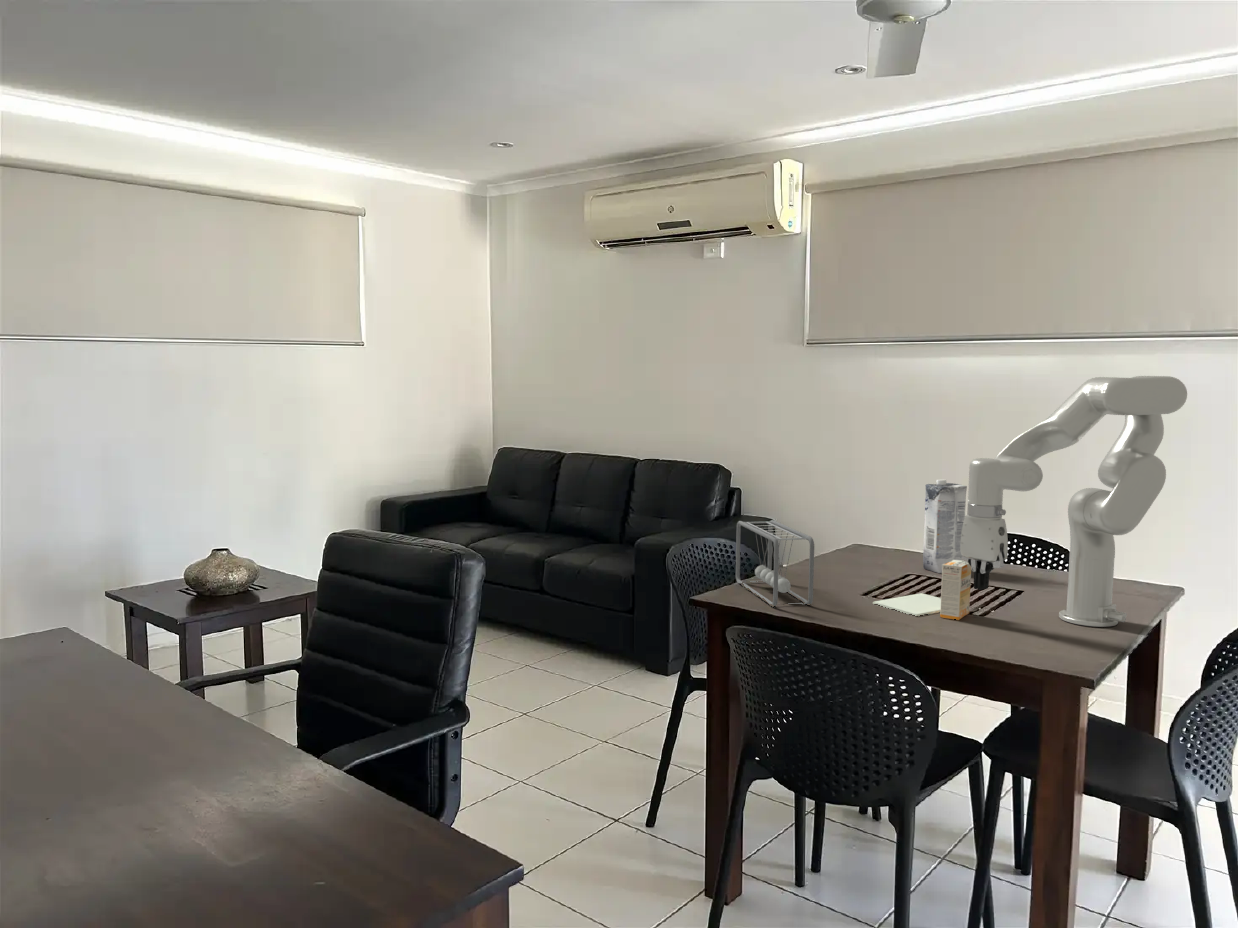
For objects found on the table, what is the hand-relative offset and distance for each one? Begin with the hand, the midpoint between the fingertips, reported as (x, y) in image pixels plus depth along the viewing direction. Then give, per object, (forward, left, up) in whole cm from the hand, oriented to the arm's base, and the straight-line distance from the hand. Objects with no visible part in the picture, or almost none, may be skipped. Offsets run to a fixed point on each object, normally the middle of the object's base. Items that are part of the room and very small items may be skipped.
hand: (980, 588), depth 217 cm
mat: (+18, 0, -8) cm, 20 cm away
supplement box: (+7, 0, -8) cm, 11 cm away
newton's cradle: (+46, +24, -8) cm, 53 cm away
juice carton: (+43, -39, -8) cm, 59 cm away
